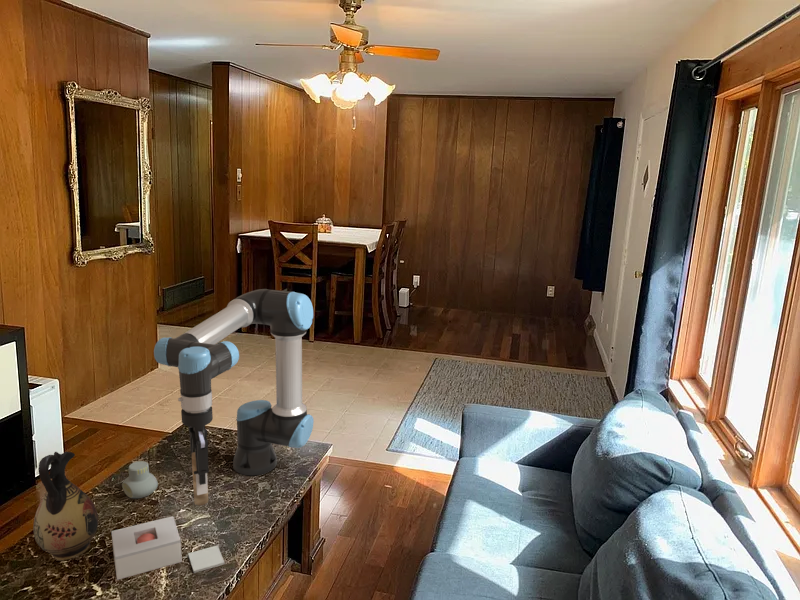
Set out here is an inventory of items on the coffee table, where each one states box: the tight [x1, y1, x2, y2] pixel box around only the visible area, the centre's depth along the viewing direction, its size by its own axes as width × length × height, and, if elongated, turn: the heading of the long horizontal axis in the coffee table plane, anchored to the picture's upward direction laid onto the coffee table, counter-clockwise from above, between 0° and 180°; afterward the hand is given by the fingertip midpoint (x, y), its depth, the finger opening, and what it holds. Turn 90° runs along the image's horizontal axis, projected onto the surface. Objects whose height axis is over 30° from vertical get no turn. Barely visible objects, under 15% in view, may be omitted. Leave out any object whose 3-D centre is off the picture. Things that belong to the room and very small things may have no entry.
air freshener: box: [121, 460, 159, 499], centre depth 192 cm, size 11×8×10 cm
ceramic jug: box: [33, 451, 99, 562], centre depth 161 cm, size 17×15×30 cm
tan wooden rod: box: [191, 452, 209, 506], centre depth 158 cm, size 4×4×14 cm
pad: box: [187, 544, 225, 574], centre depth 164 cm, size 8×8×1 cm
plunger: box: [137, 533, 155, 544], centre depth 163 cm, size 4×4×5 cm
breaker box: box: [111, 516, 183, 581], centre depth 163 cm, size 16×12×7 cm
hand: (200, 489), depth 159 cm, fingers closed on tan wooden rod, 3 cm apart
